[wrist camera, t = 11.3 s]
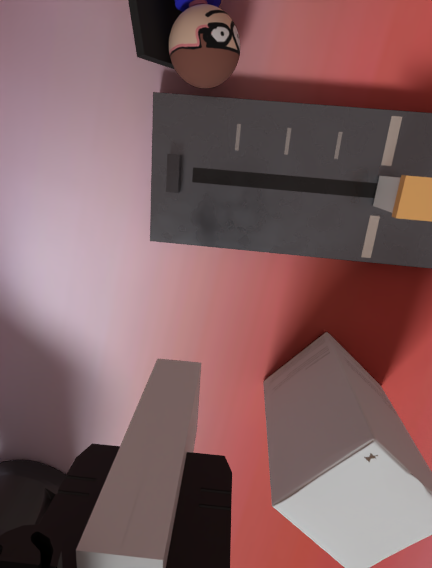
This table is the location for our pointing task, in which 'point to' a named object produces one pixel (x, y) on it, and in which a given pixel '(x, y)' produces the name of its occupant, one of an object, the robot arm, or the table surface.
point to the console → (286, 177)
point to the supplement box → (344, 458)
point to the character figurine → (187, 38)
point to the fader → (405, 197)
